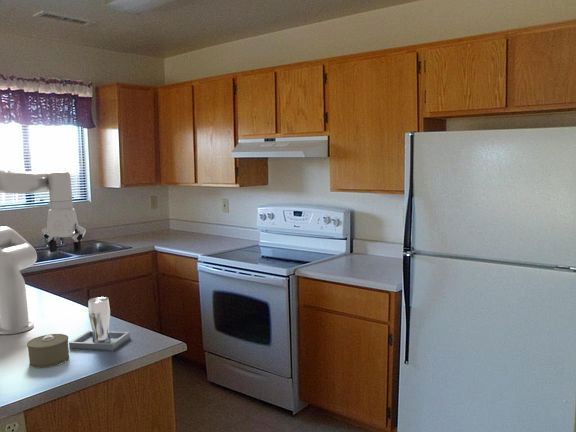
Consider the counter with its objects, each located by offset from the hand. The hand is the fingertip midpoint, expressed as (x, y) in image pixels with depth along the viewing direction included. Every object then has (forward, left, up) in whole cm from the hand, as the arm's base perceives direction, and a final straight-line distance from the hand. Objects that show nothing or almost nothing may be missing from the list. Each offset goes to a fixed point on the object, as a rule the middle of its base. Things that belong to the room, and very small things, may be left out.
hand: (65, 251), depth 190 cm
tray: (+18, -11, -30) cm, 37 cm away
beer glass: (+18, -11, -30) cm, 37 cm away
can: (+9, -26, -31) cm, 41 cm away
